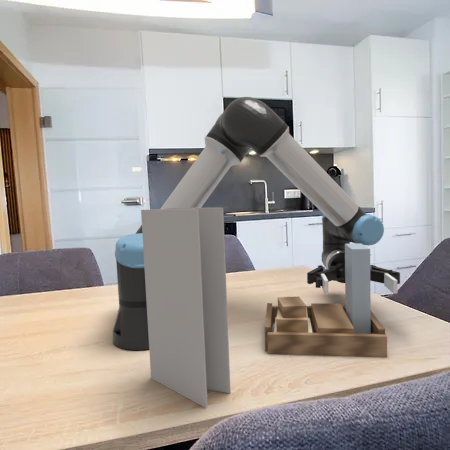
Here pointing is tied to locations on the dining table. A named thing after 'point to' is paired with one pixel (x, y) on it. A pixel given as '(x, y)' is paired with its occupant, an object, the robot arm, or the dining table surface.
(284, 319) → the plate
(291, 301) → the offcut top
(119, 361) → the dining table surface
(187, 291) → the brochure
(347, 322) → the tray
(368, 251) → the grey rectangular block
